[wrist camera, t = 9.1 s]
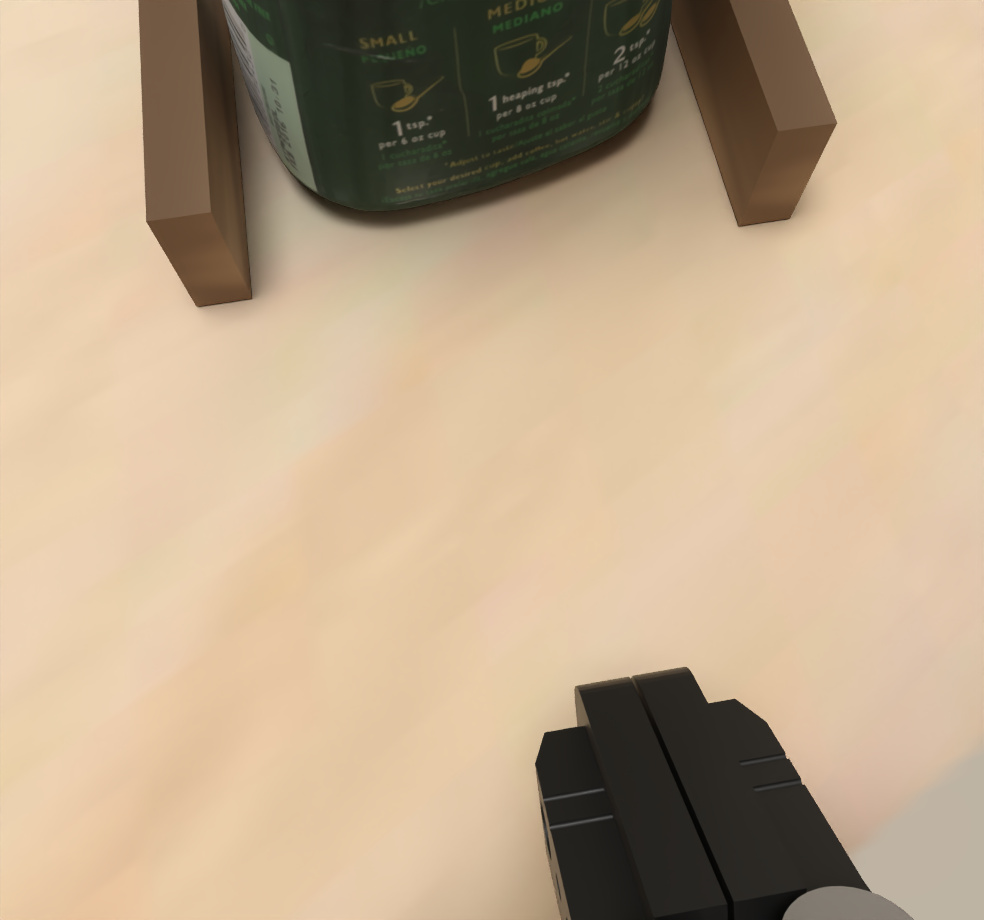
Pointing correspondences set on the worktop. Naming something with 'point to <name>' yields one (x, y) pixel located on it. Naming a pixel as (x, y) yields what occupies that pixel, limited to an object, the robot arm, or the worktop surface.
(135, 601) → the worktop surface
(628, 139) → the worktop surface
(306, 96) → the coffee jar
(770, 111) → the wooden u-shaped frame
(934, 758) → the worktop surface
